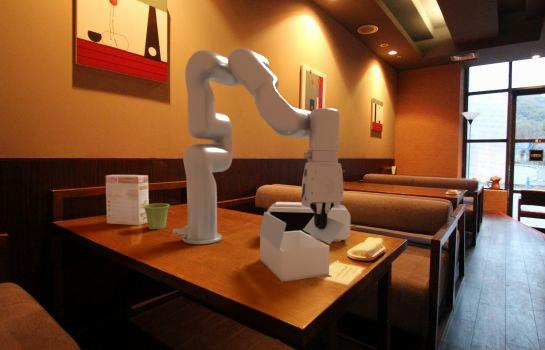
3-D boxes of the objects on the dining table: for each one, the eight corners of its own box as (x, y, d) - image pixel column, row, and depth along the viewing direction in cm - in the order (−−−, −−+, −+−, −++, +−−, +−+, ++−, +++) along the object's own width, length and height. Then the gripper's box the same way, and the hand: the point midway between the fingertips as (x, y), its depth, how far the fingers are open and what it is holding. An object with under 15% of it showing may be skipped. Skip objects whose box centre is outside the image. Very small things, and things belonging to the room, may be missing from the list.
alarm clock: (266, 240, 106) (266, 205, 105) (269, 233, 115) (269, 200, 114) (349, 243, 103) (350, 207, 102) (346, 236, 112) (347, 202, 111)
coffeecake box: (149, 222, 132) (148, 174, 130) (138, 225, 125) (137, 176, 123) (118, 220, 135) (117, 174, 134) (106, 223, 128) (104, 175, 127)
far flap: (343, 223, 77) (344, 224, 78) (316, 213, 90) (317, 214, 91) (328, 243, 76) (329, 244, 76) (303, 229, 89) (304, 230, 90)
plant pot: (175, 227, 123) (175, 204, 122) (154, 232, 115) (154, 208, 115) (159, 224, 128) (159, 202, 127) (138, 228, 120) (138, 206, 120)
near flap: (279, 249, 72) (277, 248, 72) (260, 234, 85) (258, 233, 85) (286, 223, 72) (284, 222, 72) (266, 212, 85) (264, 211, 85)
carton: (282, 281, 72) (282, 251, 71) (260, 259, 87) (260, 234, 86) (328, 275, 76) (329, 246, 75) (300, 254, 91) (300, 230, 90)
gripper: (302, 157, 76) (299, 233, 77) (356, 158, 81) (353, 229, 82) (290, 156, 83) (288, 226, 84) (341, 157, 88) (338, 223, 89)
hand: (320, 227), depth 83 cm, fingers closed
